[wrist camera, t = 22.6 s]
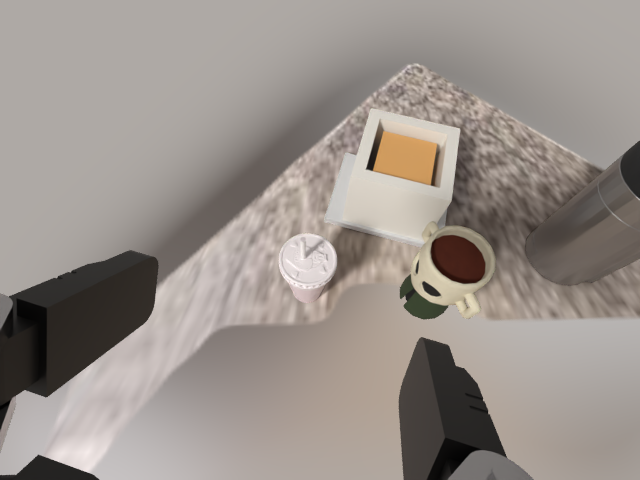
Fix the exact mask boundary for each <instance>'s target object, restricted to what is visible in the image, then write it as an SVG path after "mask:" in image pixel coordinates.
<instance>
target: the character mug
mask: <svg viewBox="0 0 640 480" xmlns="http://www.w3.org/2000/svg"><path fill="white" fill-rule="evenodd" d="M431 234H432V235H431ZM422 238H423V240H424V242H425V244H424V245H423V246H422V247H421V249H420V250H419V252H418V253H417V255H416V256H415V257H414V260H413V263H412V267H411V274H410V275H409V276H408V277H407V278H406V279H405V280H404V282H403V284H402V285H401V287H400V299H401V298H403V297H404V296H406V300H407V302H406V303H405V304H404V308H405V309H406V310H407V311H408V312H409V313H410V314H412V315H413V316H415V317H418V318H421V319H432V318H436V317H438V316H439V315H441V314H442V313H444V311H445V310H446V309H447V308H448V306H449V305H457V307H458V309H459V311H460V313H461V315H462V317H463V318H466V319H470V318H471V317H473V316H474V315H476V314H477V313H478V312H479V311H480V310H481V306H480V304H479V302H478V300H477V298H476V296H475V294H474V293H475V292H476V291H478V290H479V289H480V288H481V287H483V286H484V285H485V284H487V283H488V282H489V280H490V279H491V277H492V275H493V274H494V272H495V268H496V257H495V254H494V252H493V249H492V246H491V245H490V244H489V243H488V242H487V241H486V239H485V238H484V237H483V236H482V235H480V234H479V233H477V232H475V231H474V230H472V229H470V228H466V227H463V226H459V225H454V226H444V227H443V228H441V229H439V227H438V225H437V224H436V223H435V222H433V221H431V222H429V223H428V224H427V226H426V227H425V229H424V231H423V232H422ZM464 300H467V302H468V304H469V307H467V305H466V303H465V301H464Z"/></svg>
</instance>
